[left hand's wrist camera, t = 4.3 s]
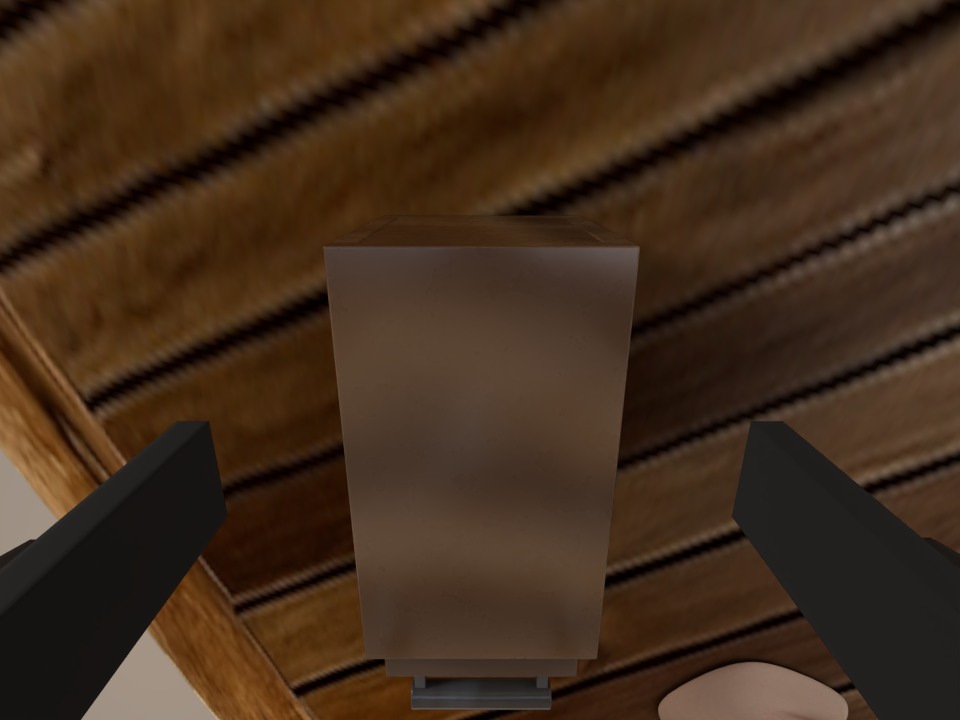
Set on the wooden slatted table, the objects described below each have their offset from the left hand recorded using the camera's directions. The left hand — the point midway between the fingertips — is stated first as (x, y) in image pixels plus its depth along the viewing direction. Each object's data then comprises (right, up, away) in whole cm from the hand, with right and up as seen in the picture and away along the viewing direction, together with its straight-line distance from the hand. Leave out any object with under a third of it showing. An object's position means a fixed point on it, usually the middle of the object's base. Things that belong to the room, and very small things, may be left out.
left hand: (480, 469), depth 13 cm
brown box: (0, +2, +17) cm, 17 cm away
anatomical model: (+20, -24, +27) cm, 42 cm away
